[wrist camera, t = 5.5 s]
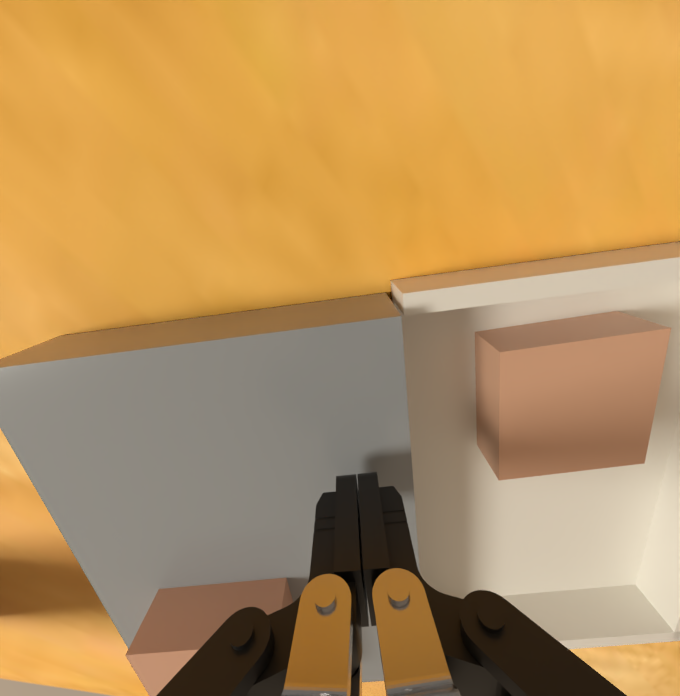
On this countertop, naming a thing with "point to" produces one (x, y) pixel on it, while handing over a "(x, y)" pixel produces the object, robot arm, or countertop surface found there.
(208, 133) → the countertop surface
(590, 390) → the tile
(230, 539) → the board
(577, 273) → the tray
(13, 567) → the countertop surface
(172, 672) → the tile
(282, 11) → the countertop surface
